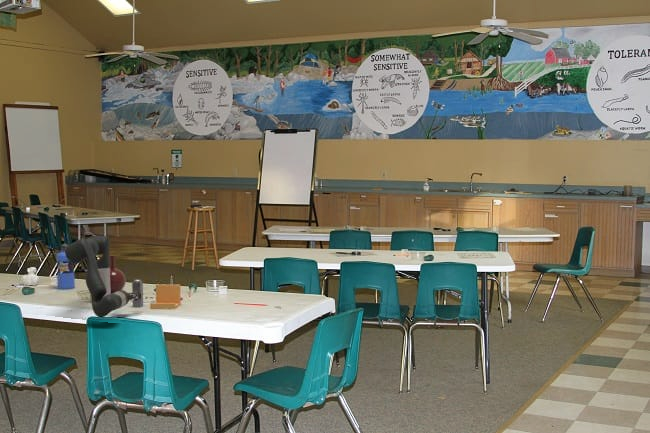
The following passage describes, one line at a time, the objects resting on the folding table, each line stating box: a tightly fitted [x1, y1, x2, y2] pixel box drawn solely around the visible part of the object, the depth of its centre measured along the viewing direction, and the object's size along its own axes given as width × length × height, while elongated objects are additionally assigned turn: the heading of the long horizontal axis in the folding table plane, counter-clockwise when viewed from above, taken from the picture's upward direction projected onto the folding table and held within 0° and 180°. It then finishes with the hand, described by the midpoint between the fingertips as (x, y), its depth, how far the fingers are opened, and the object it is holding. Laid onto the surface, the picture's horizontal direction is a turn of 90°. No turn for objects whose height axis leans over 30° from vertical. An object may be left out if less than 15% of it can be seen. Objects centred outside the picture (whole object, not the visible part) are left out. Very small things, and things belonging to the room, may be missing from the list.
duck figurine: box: [20, 266, 40, 286], centre depth 464 cm, size 12×8×11 cm
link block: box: [131, 279, 144, 308], centre depth 397 cm, size 4×4×13 cm
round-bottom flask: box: [110, 255, 127, 293], centre depth 434 cm, size 13×13×20 cm
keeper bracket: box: [149, 284, 182, 310], centre depth 396 cm, size 12×11×10 cm
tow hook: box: [169, 275, 183, 301], centre depth 414 cm, size 8×13×9 cm
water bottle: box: [55, 243, 76, 291], centre depth 450 cm, size 9×9×25 cm
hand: (129, 293), depth 386 cm, fingers open, 8 cm apart
